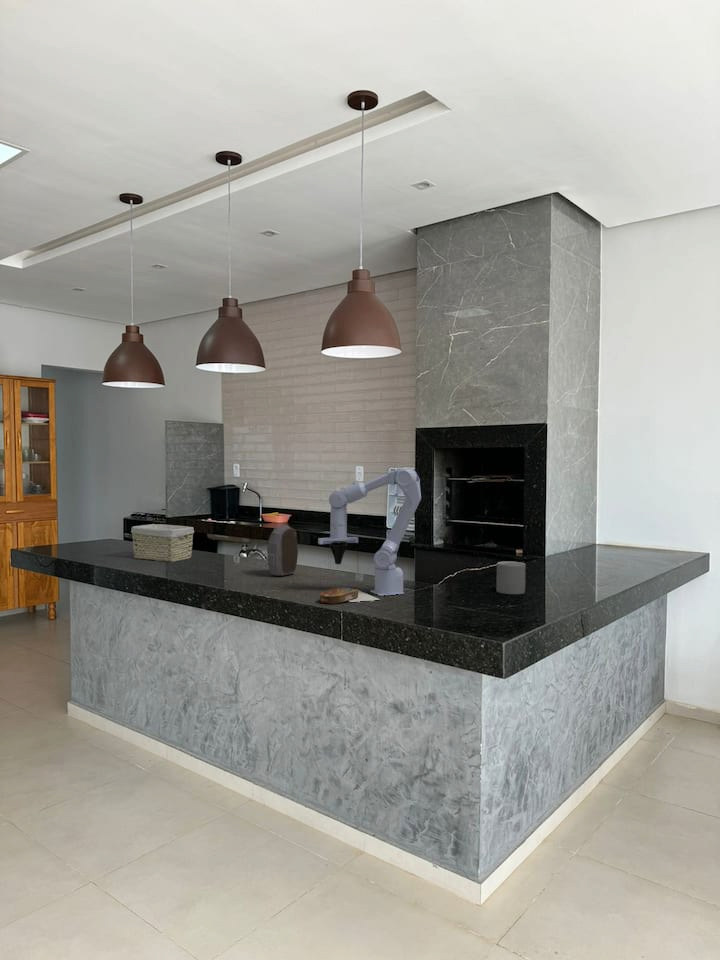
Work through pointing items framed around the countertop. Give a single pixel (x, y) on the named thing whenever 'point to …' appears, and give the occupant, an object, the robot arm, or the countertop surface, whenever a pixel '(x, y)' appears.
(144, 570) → the countertop surface
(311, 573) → the countertop surface
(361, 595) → the grey mat
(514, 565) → the coffee mug
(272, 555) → the soft grey pack
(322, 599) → the tin
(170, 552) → the storage basket
